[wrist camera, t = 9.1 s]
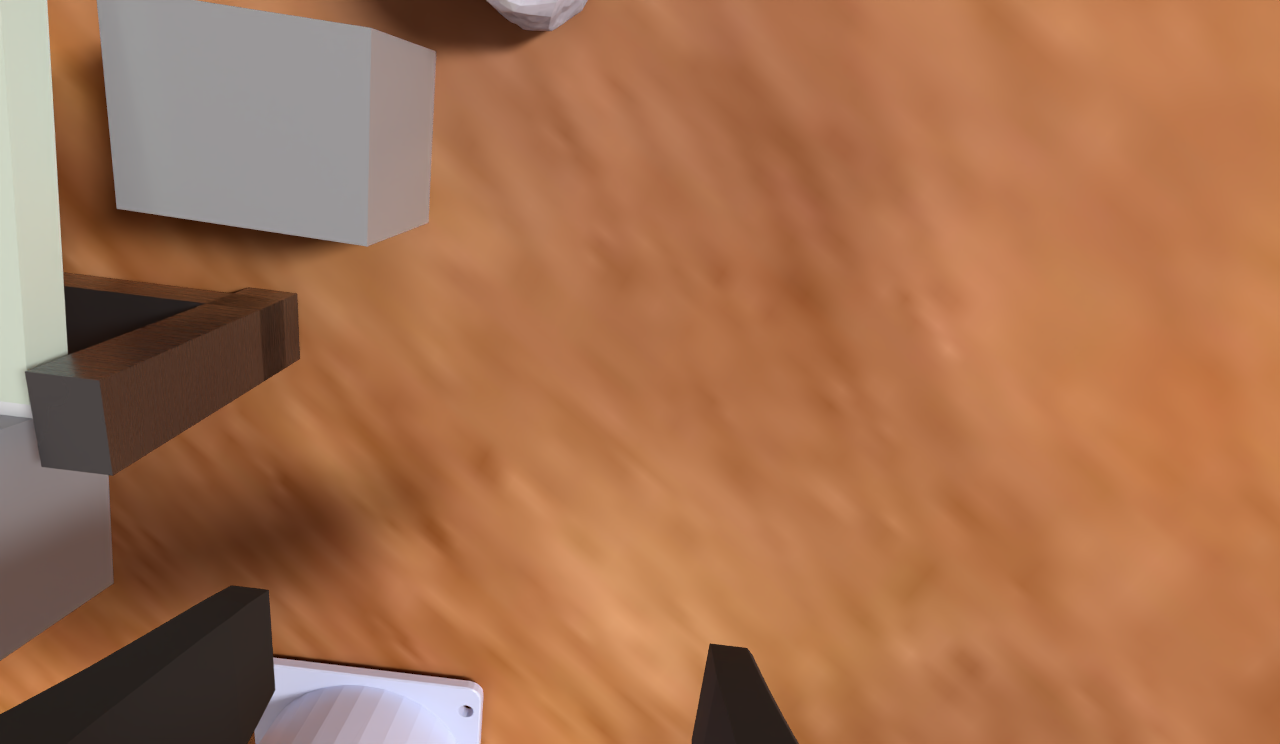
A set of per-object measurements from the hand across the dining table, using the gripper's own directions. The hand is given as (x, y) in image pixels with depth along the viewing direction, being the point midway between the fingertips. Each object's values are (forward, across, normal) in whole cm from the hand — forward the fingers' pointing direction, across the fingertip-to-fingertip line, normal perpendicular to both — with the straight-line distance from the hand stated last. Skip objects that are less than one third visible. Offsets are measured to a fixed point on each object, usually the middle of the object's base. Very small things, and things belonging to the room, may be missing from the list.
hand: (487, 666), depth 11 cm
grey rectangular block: (+8, +10, -8) cm, 15 cm away
